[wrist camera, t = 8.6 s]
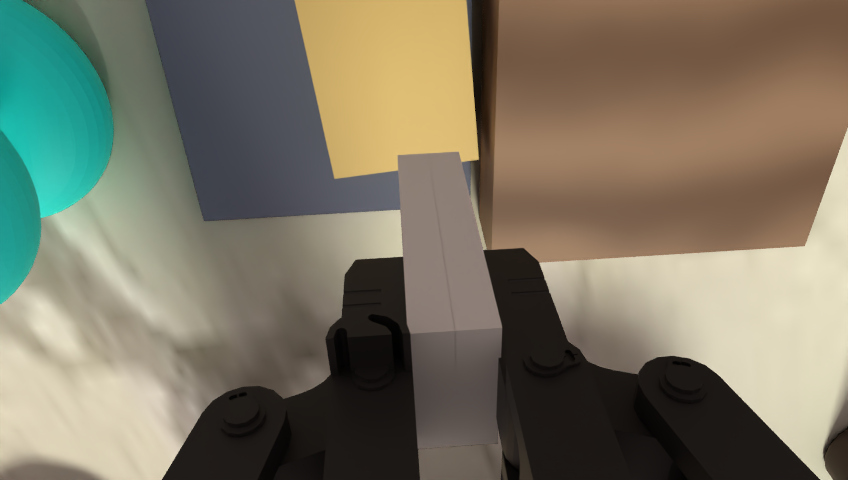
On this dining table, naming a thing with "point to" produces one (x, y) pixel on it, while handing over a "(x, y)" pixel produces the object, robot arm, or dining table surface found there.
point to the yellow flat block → (390, 80)
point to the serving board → (658, 124)
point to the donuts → (44, 132)
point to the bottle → (838, 457)
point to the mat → (256, 112)
